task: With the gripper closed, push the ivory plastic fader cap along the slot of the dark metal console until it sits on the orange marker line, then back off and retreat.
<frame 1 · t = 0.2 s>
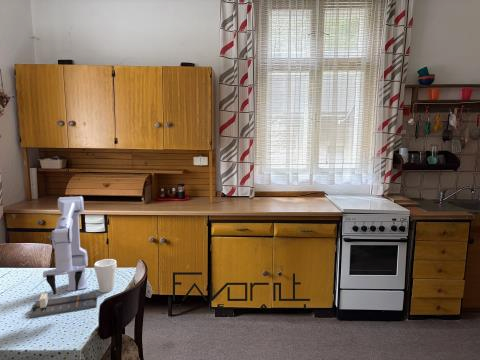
hand: (65, 291, 133), 10 cm above the table, fingers open, 7 cm apart
foam cup: (106, 289, 157), on the table
fader: (43, 300, 139), point 4 cm above the table, slide at -8.0 cm
console: (66, 305, 142), on the table
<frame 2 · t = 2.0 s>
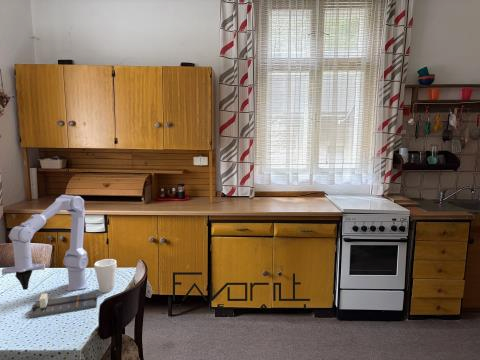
hand: (25, 288, 136), 10 cm above the table, fingers closed
nothing on the table moved.
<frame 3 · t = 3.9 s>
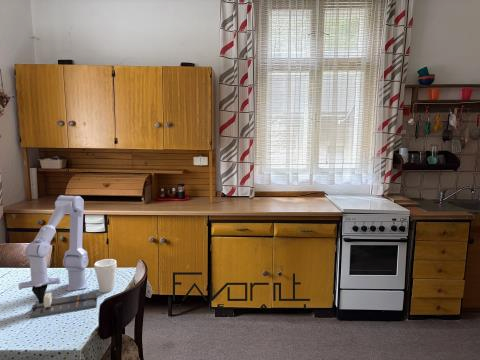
hand: (41, 302, 138), 3 cm above the table, fingers closed
fader: (47, 299, 139), point 4 cm above the table, slide at -6.5 cm, touching gripper
everything else where it was.
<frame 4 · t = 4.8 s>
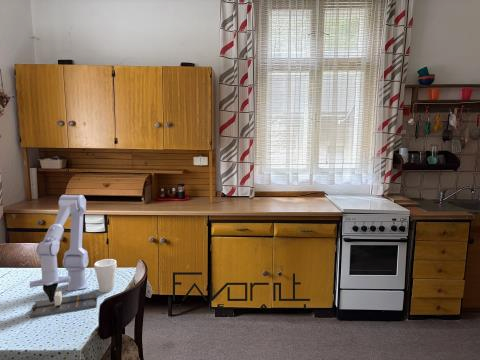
hand: (51, 300, 140), 3 cm above the table, fingers closed
fader: (58, 298, 140), point 4 cm above the table, slide at -2.7 cm, touching gripper
everything else where it was.
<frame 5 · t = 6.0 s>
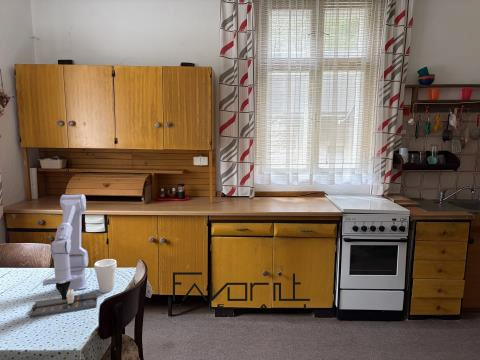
hand: (64, 298, 141), 3 cm above the table, fingers closed
fader: (70, 296, 142), point 4 cm above the table, slide at 2.0 cm, touching gripper
everything else where it was.
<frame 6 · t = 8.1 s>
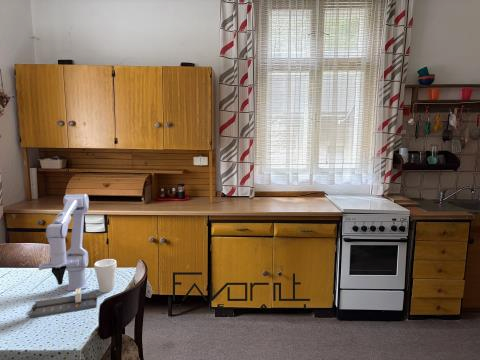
hand: (60, 283, 140), 10 cm above the table, fingers closed
fader: (78, 295, 143), point 4 cm above the table, slide at 4.9 cm
everything else where it was.
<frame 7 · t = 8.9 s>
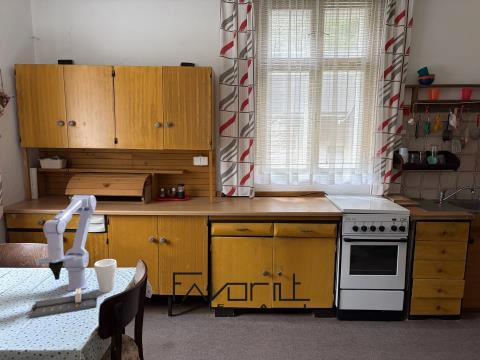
hand: (57, 278, 144), 10 cm above the table, fingers closed
nothing on the table moved.
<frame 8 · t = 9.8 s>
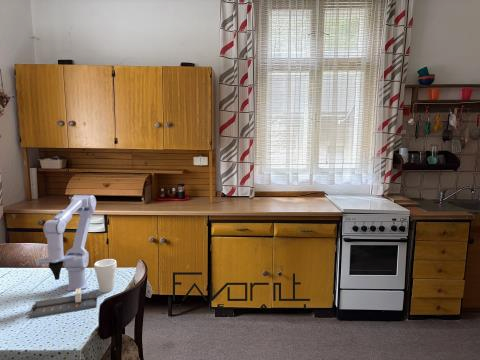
hand: (57, 278, 144), 10 cm above the table, fingers closed
nothing on the table moved.
at the end: fader slide at 4.9 cm; fader 0.1 cm from the target spot, resting on console; the gripper is holding nothing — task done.
